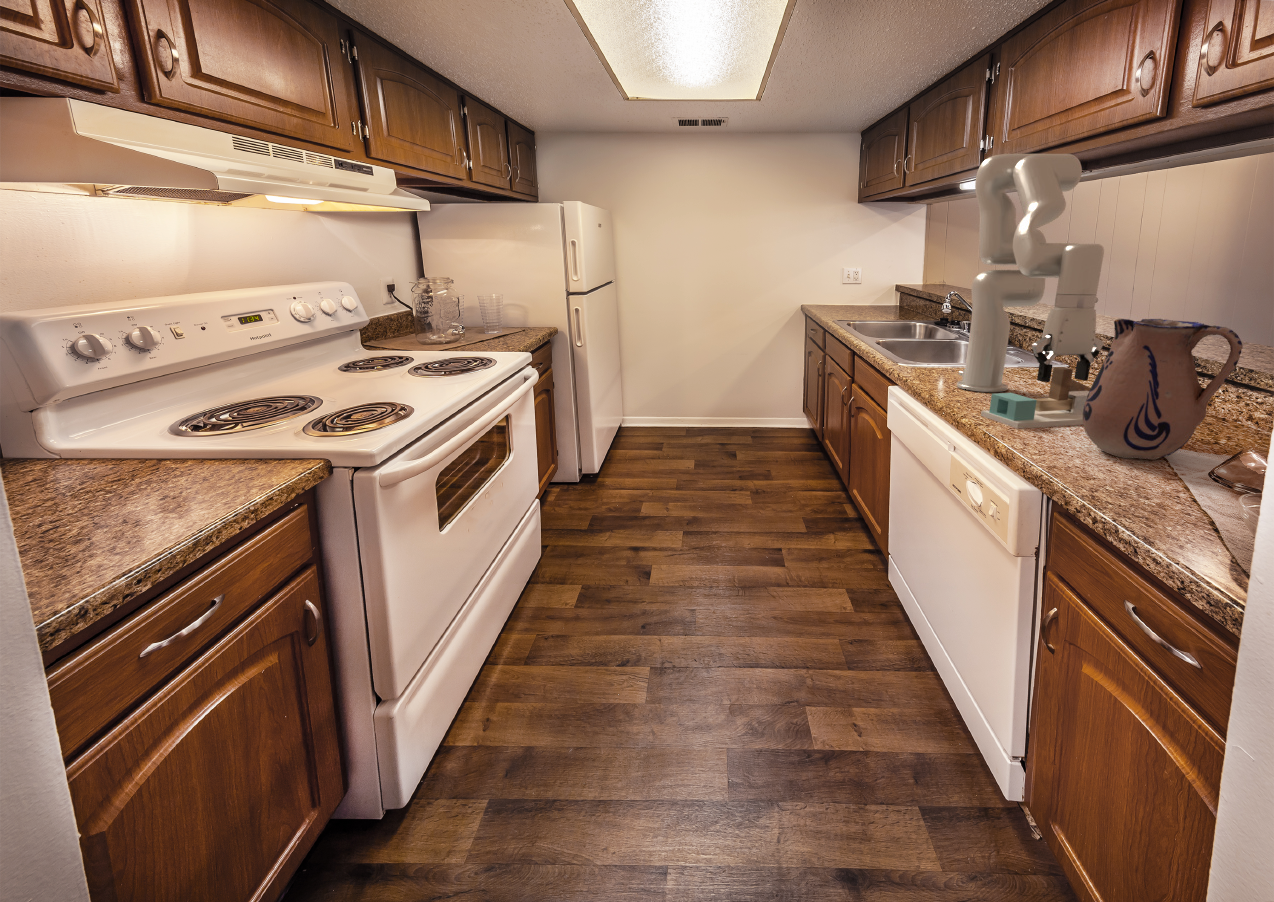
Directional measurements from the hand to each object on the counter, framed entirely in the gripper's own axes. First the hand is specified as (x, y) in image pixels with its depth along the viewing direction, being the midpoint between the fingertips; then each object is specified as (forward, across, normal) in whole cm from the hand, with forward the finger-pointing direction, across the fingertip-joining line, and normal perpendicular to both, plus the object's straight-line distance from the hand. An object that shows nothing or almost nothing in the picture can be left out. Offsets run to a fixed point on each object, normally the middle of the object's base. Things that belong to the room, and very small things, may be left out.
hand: (1062, 380), depth 155 cm
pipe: (+9, -22, -15) cm, 28 cm away
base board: (+9, +2, 0) cm, 9 cm away
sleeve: (+8, -6, 0) cm, 10 cm away
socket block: (+8, +11, 0) cm, 14 cm away
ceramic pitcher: (+10, +5, +28) cm, 30 cm away
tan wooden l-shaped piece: (+7, -3, 0) cm, 7 cm away
